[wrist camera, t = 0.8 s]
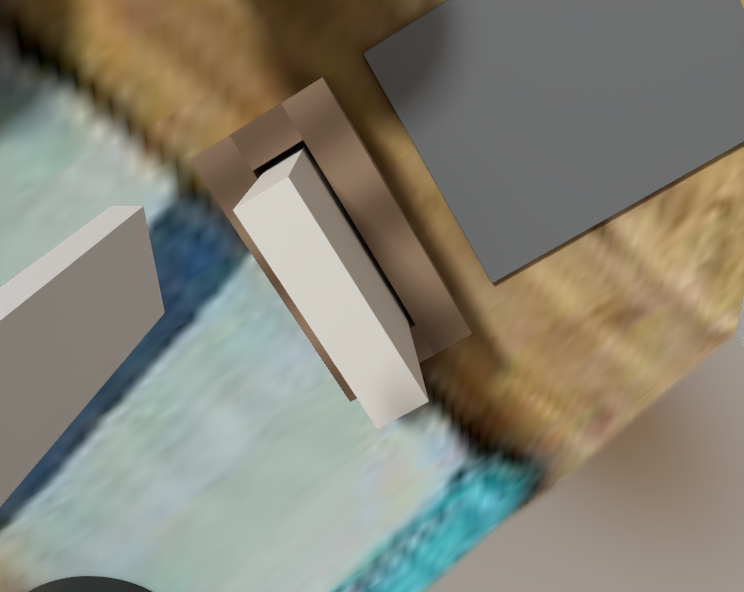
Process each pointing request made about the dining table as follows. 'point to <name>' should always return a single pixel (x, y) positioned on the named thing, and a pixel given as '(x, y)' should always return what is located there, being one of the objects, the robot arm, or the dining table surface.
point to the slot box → (360, 199)
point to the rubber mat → (562, 109)
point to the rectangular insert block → (335, 283)
